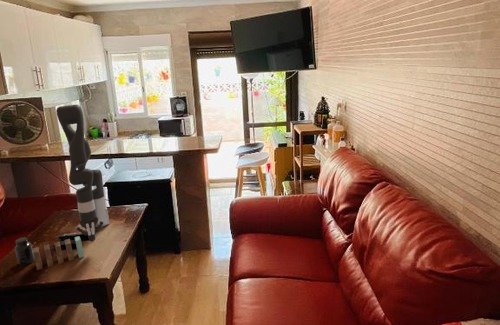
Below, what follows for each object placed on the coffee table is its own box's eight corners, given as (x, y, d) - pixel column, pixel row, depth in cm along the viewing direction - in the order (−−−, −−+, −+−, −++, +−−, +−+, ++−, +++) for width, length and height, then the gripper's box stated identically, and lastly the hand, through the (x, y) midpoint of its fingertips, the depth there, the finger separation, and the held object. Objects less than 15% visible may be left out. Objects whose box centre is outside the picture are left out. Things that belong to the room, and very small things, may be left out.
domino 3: (62, 257, 178) (59, 241, 175) (63, 262, 174) (60, 245, 171) (57, 259, 177) (54, 242, 174) (58, 263, 173) (55, 247, 170)
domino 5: (82, 252, 182) (79, 236, 180) (84, 256, 178) (80, 240, 176) (77, 253, 181) (74, 237, 179) (79, 258, 177) (76, 241, 175)
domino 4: (72, 255, 180) (69, 238, 178) (74, 259, 176) (70, 242, 173) (67, 256, 179) (64, 240, 176) (69, 260, 175) (65, 244, 172)
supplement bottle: (23, 258, 179) (17, 236, 175) (37, 257, 179) (32, 235, 176) (15, 266, 172) (9, 243, 169) (30, 265, 173) (25, 242, 169)
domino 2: (52, 260, 176) (48, 244, 173) (53, 265, 172) (49, 248, 169) (47, 262, 175) (43, 245, 172) (48, 267, 170) (44, 250, 168)
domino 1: (41, 263, 173) (38, 247, 171) (42, 268, 169) (38, 251, 167) (36, 265, 172) (32, 248, 170) (37, 270, 168) (33, 253, 166)
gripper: (73, 214, 170) (79, 248, 175) (102, 208, 177) (107, 240, 181) (71, 209, 176) (77, 241, 181) (99, 203, 183) (104, 234, 187)
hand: (92, 240), depth 181 cm, fingers closed
